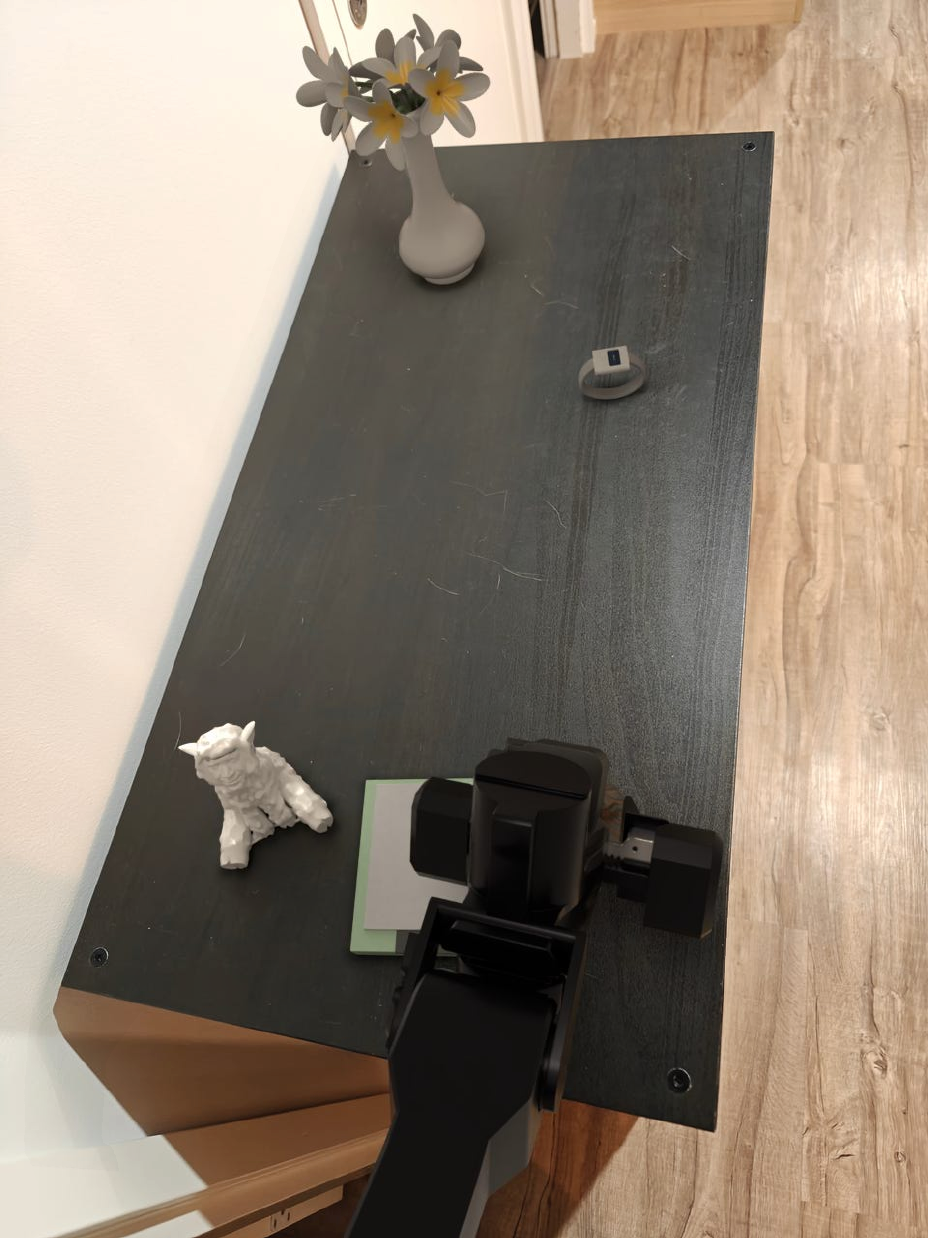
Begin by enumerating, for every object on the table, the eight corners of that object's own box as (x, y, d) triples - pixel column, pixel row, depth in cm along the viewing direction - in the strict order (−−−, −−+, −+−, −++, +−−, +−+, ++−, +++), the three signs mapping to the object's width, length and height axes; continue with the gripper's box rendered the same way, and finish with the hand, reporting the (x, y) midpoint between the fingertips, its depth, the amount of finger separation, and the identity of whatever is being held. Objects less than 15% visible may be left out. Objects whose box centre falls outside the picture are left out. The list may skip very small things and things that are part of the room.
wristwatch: (582, 410, 90) (578, 374, 86) (579, 388, 92) (575, 352, 87) (647, 400, 90) (646, 363, 85) (643, 378, 91) (642, 341, 87)
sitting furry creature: (229, 878, 75) (159, 838, 65) (203, 784, 79) (134, 732, 69) (338, 828, 75) (286, 780, 65) (306, 736, 80) (253, 678, 69)
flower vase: (380, 223, 108) (309, -2, 87) (536, 228, 103) (502, -10, 82) (345, 306, 103) (260, 89, 81) (507, 316, 98) (463, 86, 76)
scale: (529, 959, 68) (525, 955, 66) (355, 956, 70) (347, 952, 69) (531, 783, 74) (528, 775, 72) (371, 786, 76) (364, 778, 75)
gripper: (730, 825, 46) (742, 708, 60) (374, 757, 51) (462, 664, 65) (701, 1014, 49) (719, 861, 64) (371, 932, 54) (455, 807, 69)
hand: (586, 794), depth 65 cm, fingers closed on vase, 5 cm apart
